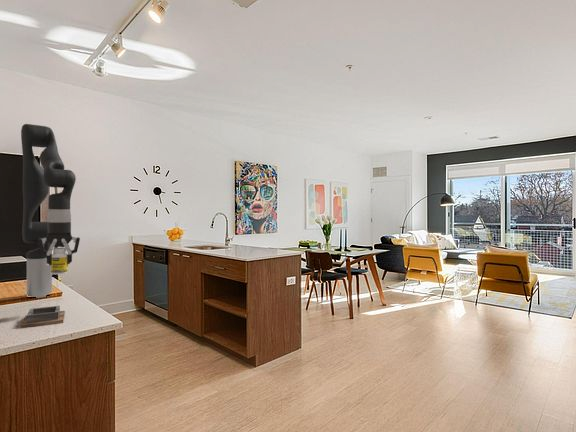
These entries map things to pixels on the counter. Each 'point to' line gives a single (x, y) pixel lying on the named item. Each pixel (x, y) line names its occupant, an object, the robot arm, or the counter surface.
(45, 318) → the socket base
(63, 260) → the supplement bottle
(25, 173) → the robot arm
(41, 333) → the counter surface
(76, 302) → the counter surface
